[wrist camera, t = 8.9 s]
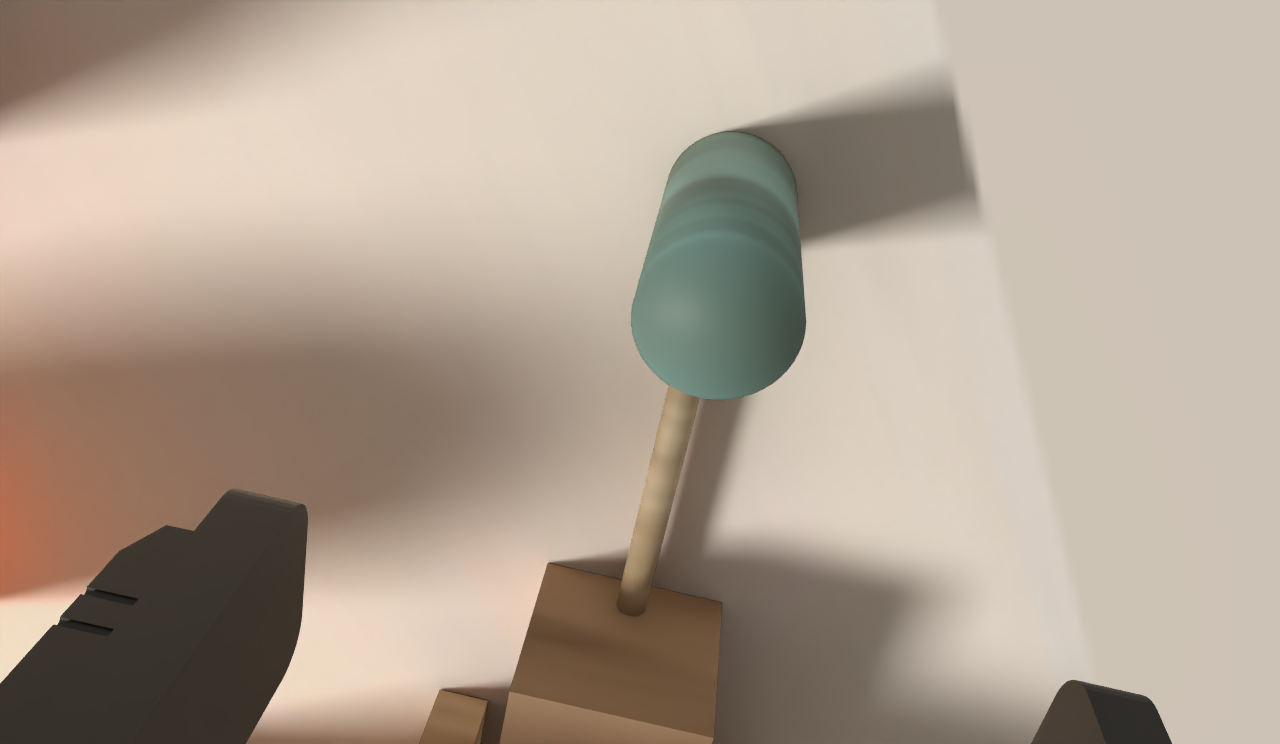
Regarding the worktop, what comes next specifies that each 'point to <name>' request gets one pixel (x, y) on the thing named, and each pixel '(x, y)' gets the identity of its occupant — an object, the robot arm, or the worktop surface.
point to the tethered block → (671, 457)
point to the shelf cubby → (455, 720)
